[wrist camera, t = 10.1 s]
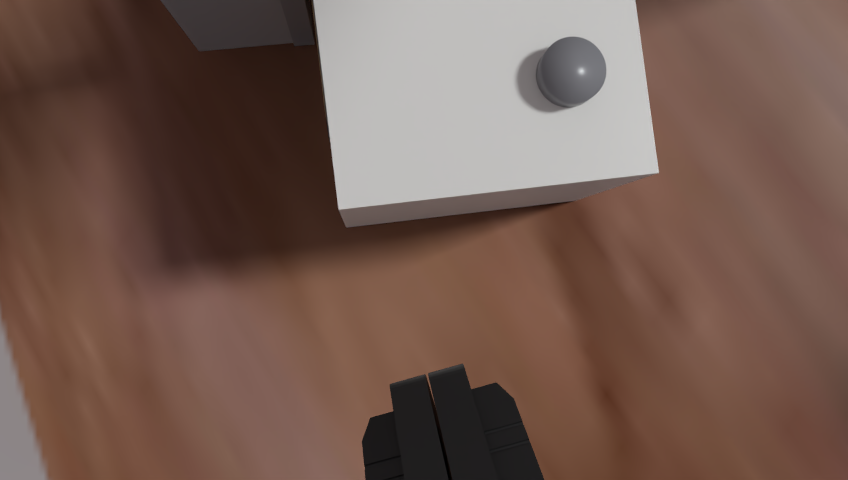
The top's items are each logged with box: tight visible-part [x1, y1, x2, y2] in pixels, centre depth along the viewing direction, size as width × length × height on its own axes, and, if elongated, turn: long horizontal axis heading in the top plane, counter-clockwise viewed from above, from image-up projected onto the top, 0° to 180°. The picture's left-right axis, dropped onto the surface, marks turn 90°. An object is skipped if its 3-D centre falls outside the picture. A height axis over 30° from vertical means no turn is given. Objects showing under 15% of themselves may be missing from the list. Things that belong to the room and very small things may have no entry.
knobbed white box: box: [312, 0, 659, 228], centre depth 29 cm, size 12×15×11 cm
